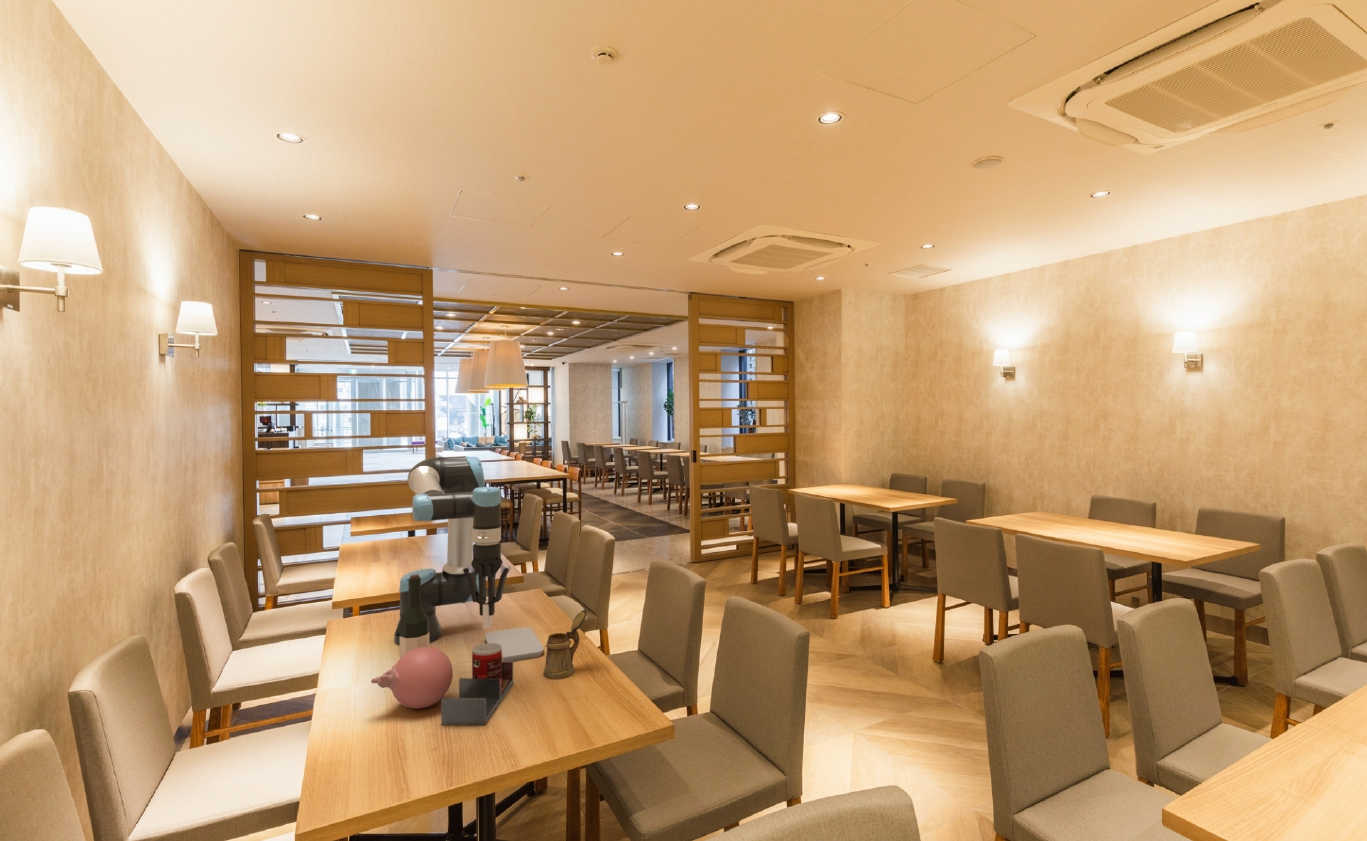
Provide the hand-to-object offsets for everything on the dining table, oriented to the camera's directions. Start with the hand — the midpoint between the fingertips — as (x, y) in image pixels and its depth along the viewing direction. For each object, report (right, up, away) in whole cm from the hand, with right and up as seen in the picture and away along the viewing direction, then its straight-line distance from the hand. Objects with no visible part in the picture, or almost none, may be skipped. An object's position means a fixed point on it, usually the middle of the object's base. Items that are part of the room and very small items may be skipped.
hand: (487, 626), depth 172 cm
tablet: (-2, -19, +35) cm, 40 cm away
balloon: (-17, -19, -8) cm, 27 cm away
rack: (0, -19, -6) cm, 20 cm away
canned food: (0, -17, 0) cm, 17 cm away
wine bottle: (-26, -19, +13) cm, 34 cm away
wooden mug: (+19, -19, +15) cm, 31 cm away
